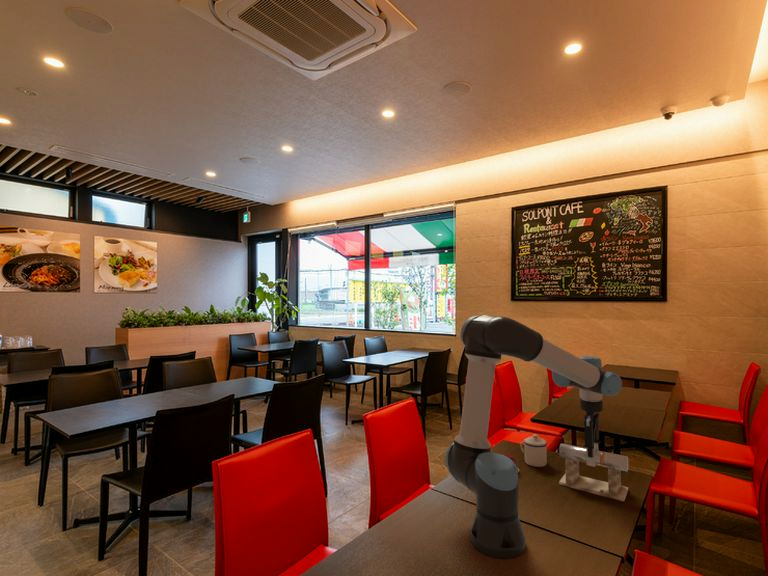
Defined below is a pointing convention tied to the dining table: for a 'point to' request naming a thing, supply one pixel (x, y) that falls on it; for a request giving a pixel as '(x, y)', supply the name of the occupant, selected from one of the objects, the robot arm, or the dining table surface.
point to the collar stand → (594, 482)
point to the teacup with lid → (535, 451)
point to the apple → (511, 459)
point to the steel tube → (600, 457)
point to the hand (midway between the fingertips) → (592, 462)
